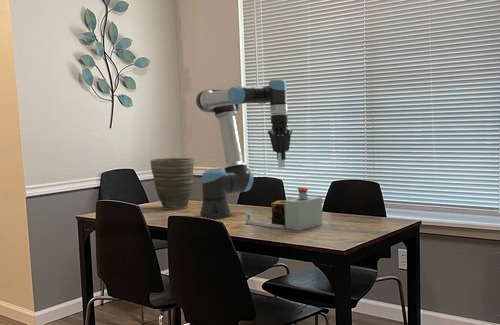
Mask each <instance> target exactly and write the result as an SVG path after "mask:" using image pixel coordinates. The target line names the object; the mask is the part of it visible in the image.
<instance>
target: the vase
mask: <svg viewBox="0 0 500 325" xmlns="http://www.w3.org/2000/svg"><path fill="white" fill-rule="evenodd" d="M194 164H195V158H193V157H191V158H190V157H188V158H186V157H165V158H154V159H151V160H150V168H151V173H152V176H153V183H154V187H155V190H156V193H157V197H158V199H159V200H160V203H161V205H162V207H161V209H162V210H166V211H167V210H173V211H175V210H182V209H188V208H189V201H190V198H191V194H192V190H193V184H194V166H195V165H194Z"/></svg>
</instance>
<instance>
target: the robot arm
mask: <svg viewBox="0 0 500 325" xmlns="http://www.w3.org/2000/svg"><path fill="white" fill-rule="evenodd" d="M286 84H287V82H286V81H285V79H271V80H269V82H268V86H267V85H266V86H231V87H229V88H227V89H226V88H225V89H205V90H201V91H200V92H199V93H198V94H197V95H196V97H195V98H196V99H195V103H196V104H195V105H196V106H197V107H198V109H199V111H202V112H205V113H214V116H215V118H216V119H217V120H218V124H219V128H220V134H221V136H220V137H221V140H222V141H221V142H222V147H223V153H224V158H225V166H224V167H222V168H219V167H218V168H212V169H208V170H206V171H204V172H203V173H202V176H201V183H202V185H201V186H202V187H201V188H202V204H201V210H200V212H199V214H200V215H199V217H200V218H201V217H206V218H205V219H209V218H211V219H224V218H228V217H231V215H232V214H231V213H232V212H231V209H230V206H229V204H228V200H227V194H236V193H243V192H248V191H250V190H251V189H252V186H253V183H254V174H253V173H254V172H253V171H252V170H251V169H250V168H248V166H247V163H245V162H244V160H243V154H242V148H241V144H240V143H241V142H240V137H239V132H238V131H239V130H238V126H237V121H236V120H237V119H236V116H237V115H238V111H239V110H240V108H241V106H240V105H241V104H244V105H245V104H260V105H262V104H263V105H264V104H269V107H270V109H269V111H270V115H271V116H270V124H271V125H272V126H271V129H270V130H268V131H267V135H268V136H269V139H270V143H271V147H272V151H273V152H274V153H276V158H277V159H276V160H277V162H278V168H285V167H286V161H285V160H286V152H289V151H290V144H291V137H292V133H293V129H290V128H289V125H288V122H289V119H288V104H287V103H288V100H287V99H288V98H287V85H286Z"/></svg>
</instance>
